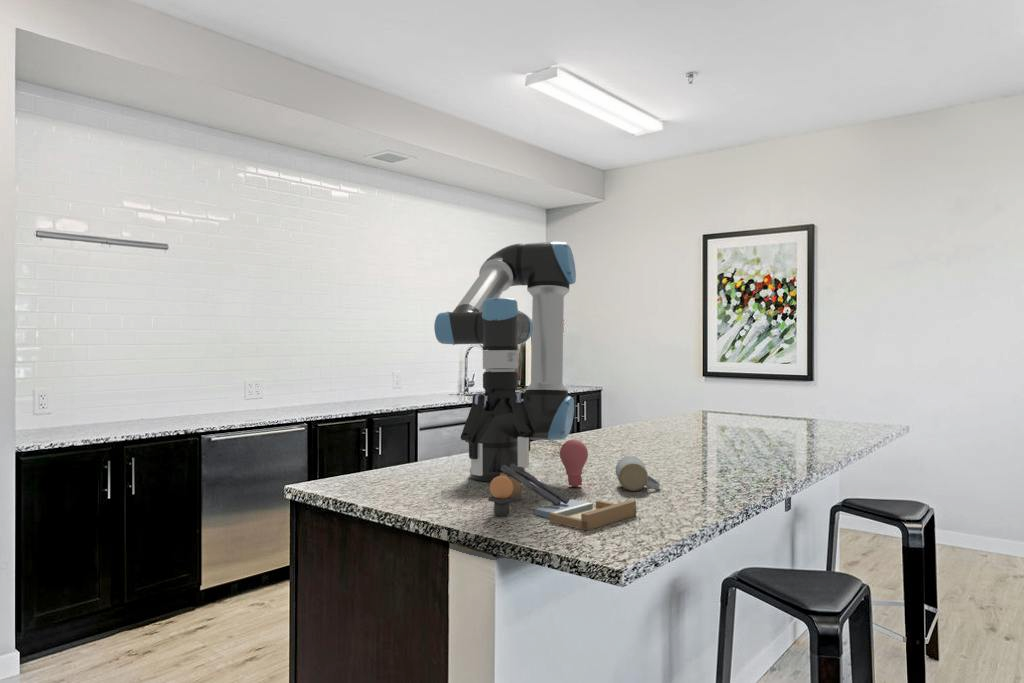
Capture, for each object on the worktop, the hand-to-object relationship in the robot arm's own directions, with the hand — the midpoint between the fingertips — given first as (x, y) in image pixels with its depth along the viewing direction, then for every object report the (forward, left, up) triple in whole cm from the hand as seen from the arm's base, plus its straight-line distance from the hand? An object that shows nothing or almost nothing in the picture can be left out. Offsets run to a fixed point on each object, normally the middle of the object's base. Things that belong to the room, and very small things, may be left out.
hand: (500, 471), depth 143 cm
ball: (0, 0, -4) cm, 4 cm away
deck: (+8, +11, -9) cm, 17 cm away
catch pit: (+16, +11, -9) cm, 22 cm away
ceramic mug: (+5, +42, -10) cm, 43 cm away
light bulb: (-7, +32, -10) cm, 35 cm away
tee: (0, 0, -9) cm, 9 cm away
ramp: (-1, +11, -9) cm, 15 cm away
